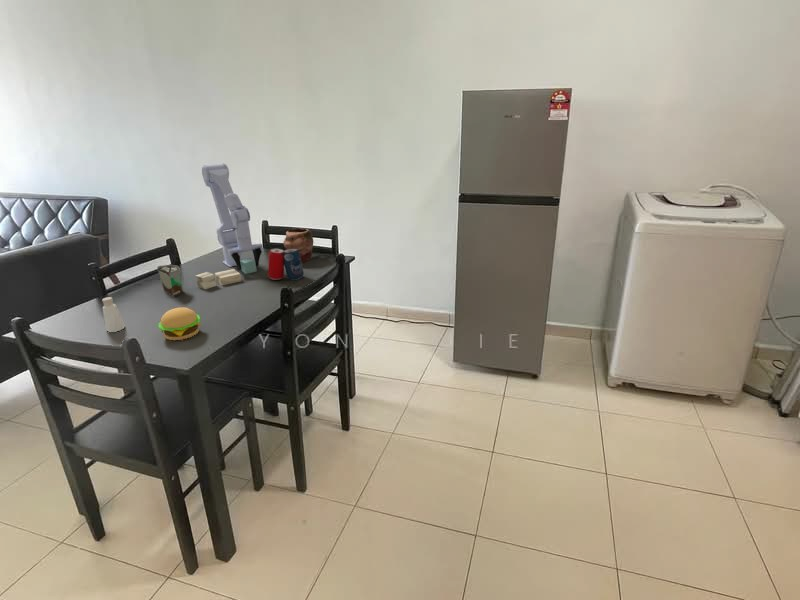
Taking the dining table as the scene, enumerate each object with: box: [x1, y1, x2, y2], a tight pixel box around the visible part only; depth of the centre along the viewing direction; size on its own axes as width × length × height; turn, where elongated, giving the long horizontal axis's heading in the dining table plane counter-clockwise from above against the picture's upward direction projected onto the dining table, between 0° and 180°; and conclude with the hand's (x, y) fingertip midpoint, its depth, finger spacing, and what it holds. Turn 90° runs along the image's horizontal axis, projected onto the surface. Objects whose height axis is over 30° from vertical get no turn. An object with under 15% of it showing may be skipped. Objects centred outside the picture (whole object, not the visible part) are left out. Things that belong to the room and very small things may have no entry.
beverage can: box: [267, 247, 285, 281], centre depth 186 cm, size 6×6×12 cm
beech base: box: [214, 268, 242, 286], centre depth 188 cm, size 8×8×4 cm
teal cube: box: [240, 257, 258, 275], centre depth 198 cm, size 5×5×5 cm
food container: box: [157, 264, 184, 298], centre depth 176 cm, size 12×6×10 cm, turn 47°
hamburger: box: [158, 306, 202, 342], centre depth 142 cm, size 12×12×9 cm
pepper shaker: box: [101, 296, 126, 333], centre depth 145 cm, size 5×5×11 cm
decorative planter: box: [282, 228, 314, 263], centre depth 211 cm, size 20×12×14 cm, turn 164°
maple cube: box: [195, 271, 217, 290], centre depth 182 cm, size 5×5×5 cm
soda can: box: [283, 248, 304, 281], centre depth 187 cm, size 7×7×12 cm
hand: (248, 267), depth 198 cm, fingers open, 7 cm apart
